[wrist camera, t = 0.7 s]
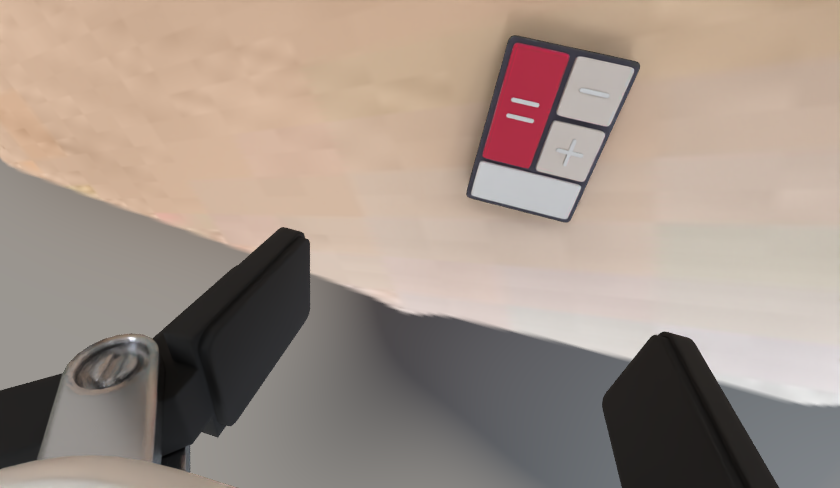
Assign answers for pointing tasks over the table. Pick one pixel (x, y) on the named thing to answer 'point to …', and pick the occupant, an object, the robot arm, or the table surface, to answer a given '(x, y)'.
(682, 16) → the table surface
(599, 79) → the black buttoned block
